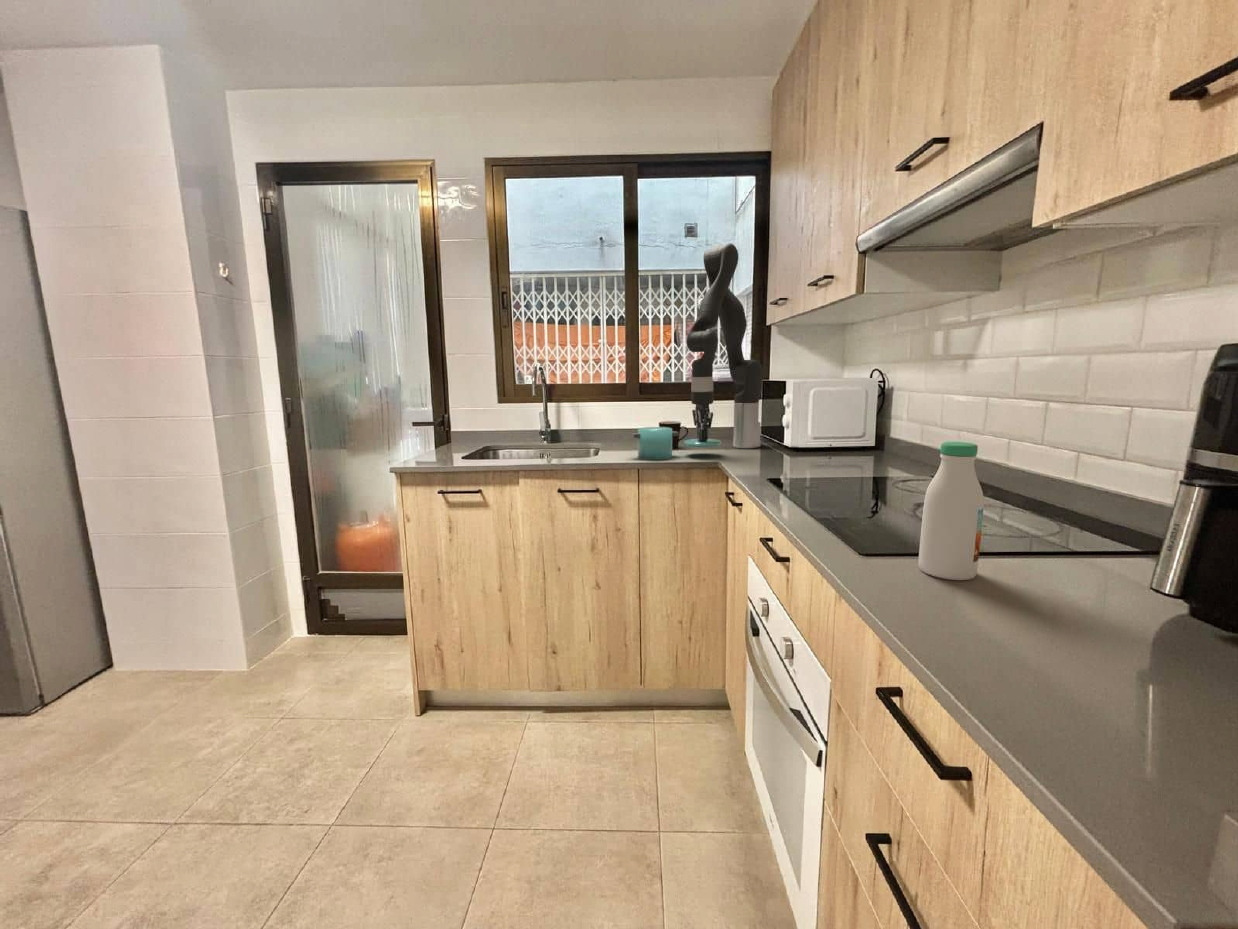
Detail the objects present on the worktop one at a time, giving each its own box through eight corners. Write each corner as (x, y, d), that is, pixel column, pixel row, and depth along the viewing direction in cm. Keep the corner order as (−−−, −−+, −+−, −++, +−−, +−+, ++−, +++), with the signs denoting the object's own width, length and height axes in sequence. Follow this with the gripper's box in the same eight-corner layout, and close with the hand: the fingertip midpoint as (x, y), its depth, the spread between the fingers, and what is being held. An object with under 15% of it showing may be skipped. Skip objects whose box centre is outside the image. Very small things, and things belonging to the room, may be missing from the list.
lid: (709, 440, 197) (709, 424, 196) (728, 445, 185) (728, 427, 184) (677, 443, 193) (677, 426, 192) (694, 448, 181) (694, 430, 180)
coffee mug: (654, 447, 211) (654, 422, 209) (672, 445, 215) (672, 420, 213) (670, 451, 201) (671, 424, 199) (689, 449, 205) (690, 423, 203)
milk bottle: (963, 586, 77) (977, 449, 73) (908, 570, 83) (919, 443, 80) (985, 573, 81) (1000, 443, 78) (931, 559, 88) (943, 438, 84)
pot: (671, 453, 196) (671, 426, 195) (682, 458, 185) (683, 429, 183) (628, 455, 193) (628, 427, 191) (637, 461, 181) (636, 431, 180)
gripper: (720, 390, 179) (720, 441, 183) (704, 388, 193) (704, 436, 196) (699, 391, 178) (700, 443, 181) (684, 389, 191) (685, 437, 194)
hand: (702, 439), depth 189 cm, fingers closed on lid, 3 cm apart
